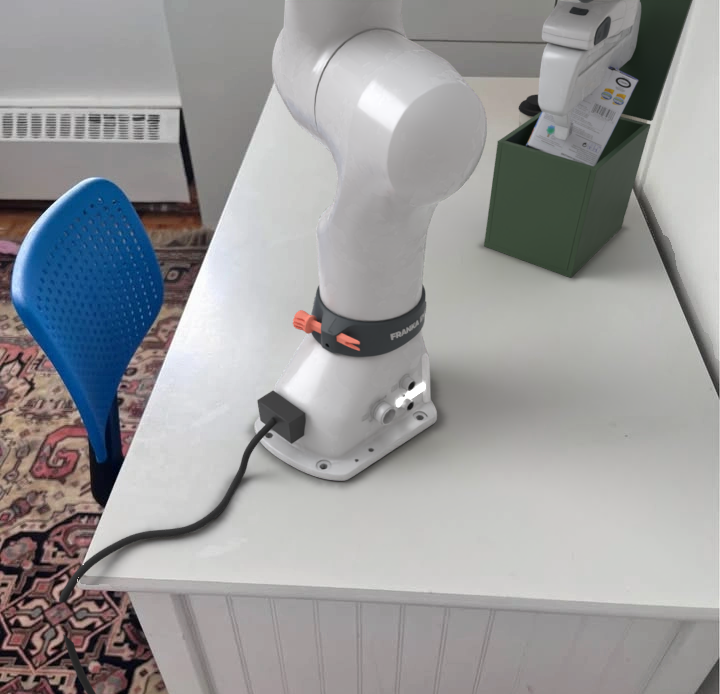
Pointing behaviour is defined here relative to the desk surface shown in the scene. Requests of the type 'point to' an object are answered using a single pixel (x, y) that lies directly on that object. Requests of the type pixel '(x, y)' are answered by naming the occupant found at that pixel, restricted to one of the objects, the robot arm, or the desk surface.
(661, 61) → the bin lid
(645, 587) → the desk surface
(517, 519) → the desk surface
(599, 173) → the bin
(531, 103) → the black capped white jar
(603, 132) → the ink cartridge box
